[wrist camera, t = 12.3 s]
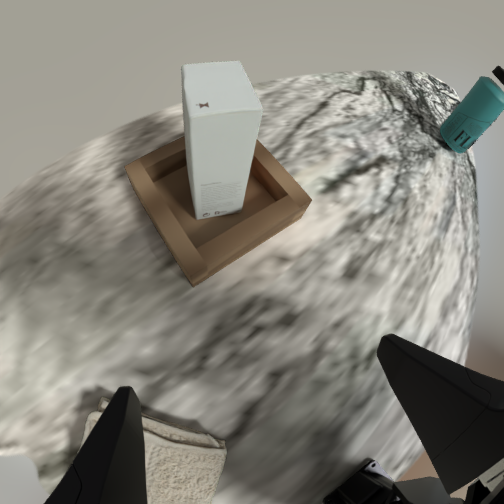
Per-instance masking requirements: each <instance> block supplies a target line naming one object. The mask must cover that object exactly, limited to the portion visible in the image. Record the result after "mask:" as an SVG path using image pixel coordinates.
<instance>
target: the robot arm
mask: <svg viewBox="0 0 504 504" xmlns="http://www.w3.org/2000/svg"><path fill="white" fill-rule="evenodd" d="M377 357H378V359H379V361H380V363H381V366H382V368H383V370H384V372H385V375H386V377H387V379H388V381H389V384H390V386H391V388H392V389H393V391H394V393H395V395H396V397H397V398H398V400H399V402H400V404H401V405H402V407H403V409H404V411H405V413H406V414H407V416H408V418H409V420H410V422H411V423H412V425H413V427H414V429H415V431H416V433H417V435H418V437H419V438H420V440H421V442H422V444H423V446H424V448H425V450H426V452H427V454H428V456H429V458H430V460H431V462H432V464H433V466H434V468H435V470H436V472H437V474H438V476H439V478H440V479H439V478H434V477H425V478H419V479H413V480H407V481H400V482H394V481H393V480H392V478H391V477H390V476H389V475H388V474H387V473H386V472H385V470H384V469H383V468H382V467H381V466H380V464H379V463H378V462H377V461H375V460H371V461H370V462H369V463H368V464H366V465H365V466H364V467H363V468H362V469H361V470H360V471H358V472H357V473H356V474H355V475H354V476H353V477H351V478H350V479H349V480H348V481H346V482H345V483H344V484H343V485H341V486H340V487H339V488H338V489H336V490H335V491H334V492H332V493H331V494H330V495H328V496H327V497H325V498H324V500H323V503H324V504H504V381H501V380H497V379H495V378H492V377H489V376H486V375H483V374H480V373H478V372H476V371H473V370H471V369H469V368H466V367H464V366H462V365H460V364H458V363H455V362H453V361H451V360H449V359H447V358H444V357H442V356H440V355H438V354H436V353H433V352H431V351H429V350H427V349H425V348H423V347H420V346H418V345H416V344H414V343H412V342H410V341H407V340H405V339H403V338H401V337H399V336H397V335H395V334H387V335H385V336H383V337H382V338H381V341H380V344H379V346H378V349H377ZM373 463H374V464H373ZM372 464H373V466H372ZM477 477H478V478H477ZM475 478H477V479H476V480H475V481H474V482H473V483H472V484H471V485H470V486H469V487H468V490H467V495H466V499H465V501H464V500H463V499H461V498H451V497H450V494H451V493H453V492H454V491H456V490H458V489H460V488H461V487H463V486H465V485H466V484H468V483H469V482H471V481H472V480H474V479H475ZM328 500H330V501H328ZM327 501H328V502H327ZM44 504H148V501H147V487H146V467H145V441H144V433H143V424H142V414H141V405H140V401H139V399H138V397H137V395H136V393H135V392H134V390H133V388H132V387H131V386H121V387H119V388H118V390H117V391H116V393H115V394H114V396H113V397H112V399H111V400H110V402H109V403H108V405H107V407H106V408H105V410H104V411H103V413H102V414H101V416H100V418H99V419H98V421H97V422H96V424H95V426H94V427H93V429H92V430H91V432H90V434H89V435H88V437H87V439H86V440H85V442H84V443H83V445H82V447H81V448H80V450H79V452H78V453H77V455H76V457H75V458H74V460H73V463H71V465H70V467H69V468H68V470H67V472H66V473H65V475H64V476H63V478H62V480H61V481H60V483H59V484H58V485H57V487H56V488H55V490H54V491H53V492H52V494H51V495H50V496H49V498H48V499H47V500H46V502H45V503H44Z"/></svg>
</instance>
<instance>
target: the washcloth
mask: <svg viewBox="0 0 504 504" xmlns="http://www.w3.org/2000/svg"><path fill="white" fill-rule="evenodd" d="M109 402H110V400H109V399H107V398H105V397H101V400H100V403H99V404H98V410H97V411H93V412H91V413H90V414H89V415H88V418H87V421H86V423H85V430H84V436H83V439H82V442H81V446H80V448H81V447H82V445H83V443H84V442H85V440H86V439H87V437H88V435H89V434H90V432H91V430H92V429H93V427H94V426H95V424H96V422H97V421H98V419H99V418H100V416H101V414H102V413H103V411H104V410H105V408H106V407H107V405H108V403H109ZM141 414H142V424H143V433H144V441H145V467H146V487H147V501H148V504H211V501H212V498H213V495H214V494H215V492H216V486H217V485H218V482H219V476H220V475H221V474H222V470H223V468H224V463H225V460H226V454H227V448H226V447H225V442H226V441H225V440H218V439H214V438H213V437H212V436H211V435H209V434H208V433H207V435H206V434H203V433H202V432H200V431H197V430H194V429H190V428H188V427H184V426H181V425H178V424H175V423H171V422H167V421H164V420H159V419H156V418H153V417H151V416H148V415H146V414H143V413H141ZM79 450H80V449H79ZM78 452H79V451H78ZM78 452H77V453H78Z"/></svg>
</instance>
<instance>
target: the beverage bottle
mask: <svg viewBox="0 0 504 504" xmlns="http://www.w3.org/2000/svg"><path fill="white" fill-rule="evenodd" d="M492 72H493V74H494V75H495V76H496V77H497V78H498V79H499V80H500V82H501V83H502V84H503V85H504V69H502V68H501V67H500V66H497V67H496V68H495V69H494V70H493V71H492ZM455 108H456V109H455V110H454V111H453V112H452V114H451V115H450V116H448V117H447V118H446V119H447V120H446V121H444V123H442V126H441V128H440V133H441V135H442V137H443V139H444V140H445V142H446V143H447V144H448V145H449V146H450V147H451V148H452V149H453V150H454V151H456V152H457V153H463V152H465V151H466V150H467V149H469V148H470V147H471V146H472V145H473V144H474V142H476V140H477V139H478V138H479V137H480V135H482V133H483V132H484V131H485V130H486V129H487V128H488V127H489V126H490V125H491V124H492V123H493V121H494V120H495V119H497V117H498V116H499V115H500V113H501V112H502V111H503V110H504V92H503V91H502V90H501V88H500V87H499V86H498V85H497V84H496V83H495V82H494V81H493V80H492V79H490V78H489V77H482V76H481V77H480V78H479V80H478V81H477V82H476V84H475V85H474V86H473V88H472V89H471V90H470V92H469V93H468V94H467V96H466V97H465V98H464V99H463V100H462V102H461V103H460V104H459V105H458V106H457V107H455Z"/></svg>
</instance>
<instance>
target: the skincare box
mask: <svg viewBox="0 0 504 504" xmlns="http://www.w3.org/2000/svg"><path fill="white" fill-rule="evenodd" d="M181 74H182V103H183V120H184V134H185V147H186V160H187V170H188V177H189V184H190V190H191V195H192V201H193V206H194V211H195V217H196V219H197V220H199V219H205V218H210V217H216V216H222V215H228V214H234V213H240V212H241V211H242V206H243V201H244V197H245V191H246V187H247V182H248V178H249V173H250V168H251V163H252V159H253V154H254V149H255V145H256V140H257V136H258V131H259V126H260V122H261V117H262V113H263V107H262V105H261V103H260V101H259V98H258V96H257V94H256V92H255V90H254V88H253V86H252V84H251V82H250V80H249V78H248V76H247V74H246V73H245V71H244V68H243V67H242V64H241V62H240V61H224V62H209V63H196V64H186V65H183V66H182V67H181Z"/></svg>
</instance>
